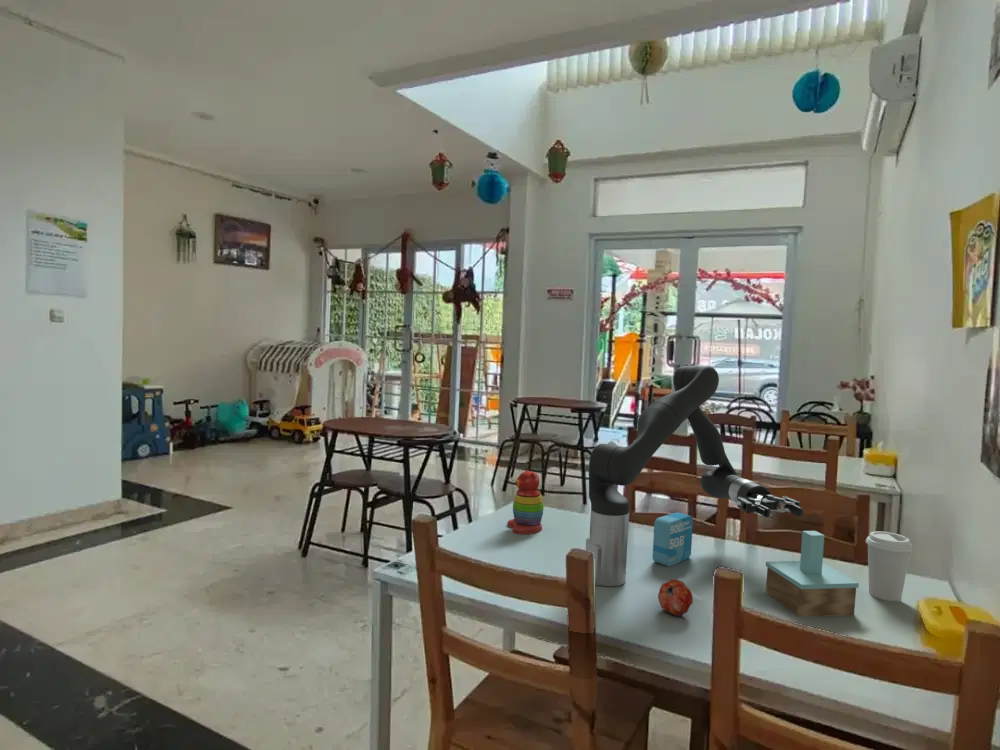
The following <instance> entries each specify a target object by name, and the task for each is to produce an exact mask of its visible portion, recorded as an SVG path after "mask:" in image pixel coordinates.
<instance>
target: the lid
mask: <svg viewBox="0 0 1000 750" xmlns="http://www.w3.org/2000/svg"><path fill="white" fill-rule="evenodd" d="M824 547H825V534H823V533H822V532H819V531H817V530H802V532H801V547H800V548H801V549H800V558H799V559H800V560H789V561H787V560H785V561H783V560H781V561H765V566H766V567H768V568H770V569H771V570H773V571H774V572H776V573H777V574H779V575H780V576H782V577H783V578H785V579H787V580H788V581H790V582H791V583H793V584H794V585H796V586H797V587H799V588H800V589H828V588H856V589H857V588H859V587H860V586H859V585H860V584H859V582H858V581H856V580H854V579H852V578H850V576H847V575H845V574H844V573H841V572H840V571H837V570H836V569H834V568H833V567H831V566H829V565H828V564H825V563H824V562H823V560H824Z"/></svg>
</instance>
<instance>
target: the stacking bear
mask: <svg viewBox="0 0 1000 750" xmlns="http://www.w3.org/2000/svg"><path fill="white" fill-rule="evenodd" d="M515 485H516V487H517V488H518V490H516V493H515V495H514V499H513V503H512V513H513V518H511V519H509V520H508V521H507V523H506V525H507V527H509V528H512V533H513V534H515V535H521V536H522V535H531V534H536V533H539V532H541V531H542V530H543V525H542V518H543V516H544V509H545V508H544V501H543V496H542V494H541V492H540V490H539V487H540V477H539V474H538V473H536V472H534V471H530V470H528V469H525V471H523V472H522V473H520V475H518V477H516V479H515Z"/></svg>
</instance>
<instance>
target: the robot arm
mask: <svg viewBox="0 0 1000 750" xmlns="http://www.w3.org/2000/svg"><path fill="white" fill-rule="evenodd" d="M672 381H673V382H672V383H673V388H674V392H671V393H668V394H666V395H664V396H663V395H662V396H661V397H660V398H657V399H656V400H655V401H653V402H652V403H651V404H649V406H648V407H647V408H646V409H644V410H643V411H642V413H640V415H639V417H638V419H637V425H636V430H637V438H635V440H634V441H633V442H632V443H630V444H629V445H628V446H619V445H614V444H609V443H599V444H597V445H596V446H595V447H594V448H593V449H592V451H591V454H590V455H589V462H588V496H589V498H588V499H589V500H590V521H589V537H588V538H586V540H585V552H586V551H590V552H593V553H594V559H595V585H594V586H604V587H618V586H622V585H624V584H625V583H626V580H627V579H626V578H627V562H628V561H627V560H628V559H627V558H628V541H629V521H630V500H628V498H627V497H625V496H624V495H623V494H621V493H620V492H619V490H618V489H617V488H616V486H620V487H621V486H628V485H630V484H631V483H634V481H635V480H636V479H637V478H638V477H639V475H640V473H641V472H642V470H643V469H644V468H645V467H646V465H647V464H648V462H649V461H650V459H651V458H653V456H654V454H655V453H656V452H657V451H658V450H659V449H660V448H661V446H662V445H663V444H664V443H665V442H666V441H667V440H668V439H669V438H670V437H671V436H672V435H673V434H674V433H675V432H676V431H677V430H678V428H679V427H680V426H681V425H682V424H683V423H684V421H686V420H688V424H689V425H690V428H691V430H692V432H693V435H694V438H695V441H696V446H697V449H698V453H699V457H700V460H701V462H702V463H703V464H704V465H706V466H717V467H714V468H713V469H710V470H707V471H705V472H704V473H702V474H701V476H700V481H699V482H700V487H701V488H702V490H703V491H704V492H705V493H706V494H707V495H709V496H711V497H713V498H718V499H719V498H721V499H729V500H730V501H732V502H734V503H735V505H737V508H739V509H740V510H741V511H743V512H745V513H747V514H755V515H758V514H759V515H760V516H762V517H765V518H771V512H775V513H776V512H777V513H785V512H787V513H790V514H792V515H794V516H796V517H798V518H799V517H800V518H802V517H803V514H804V513H803V512H804V509H803V507H800V504H801V501H798V500H796V499H794V498H791V497H789V496H787V495H783V496H782V497H779V496H775V495H773V494H771V491H770V490H769V489H768V488H767V487H765V486H764V485H762V484H759V483H758V482H755V481H753V480H750V479H746V478H744V477H743V476H739V475H738V473H737V471H736V470H735V469H734V467H733V465H732V463H731V462H730V460H729V458H728V456H727V454H726V450H725V446H724V443H723V439H722V435H721V433H720V431H719V430H718V428H717V427H716V425H715V424H714V423H713V421H712V420H711V419H710V418H709V416H707V415H706V413H705V411H704V410H702V408H701V406H702V405H704V403H706V402H707V401H708V400H709V399H711V398H712V397H713V396H714V394H715V393H716V392H717V389H718V387H719V383H720V377H719V373H718V371H717V370H716V369H715V368H714V367H712V366H710V365H704V364H702V365H701V364H699V365H685V366H680V367H678V368H677V369H676V370H675V371H674V373H673V379H672ZM779 505H780V508H779Z"/></svg>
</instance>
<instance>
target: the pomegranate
mask: <svg viewBox="0 0 1000 750" xmlns="http://www.w3.org/2000/svg"><path fill="white" fill-rule="evenodd" d="M658 591H659V592H658V594H657V598H658V603H659V605H660V607H661V608H662V610H663V611H665V612H667V613H670V614H672V615H674V616H679V617H680V616H682V615H684V614H686V613H688V611H689V609H690V607H691V605H693V601H694V600H693V599H694V597H693V593H692V591H691V589H690V588H689V587H688V586H687V585H686V584H685V582H684V581H683V580H680V579H679V578H678V579H675V578H674V579H670V580H669V581H667V582H663V583H662V584H661V586H660V588H659V590H658Z"/></svg>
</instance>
